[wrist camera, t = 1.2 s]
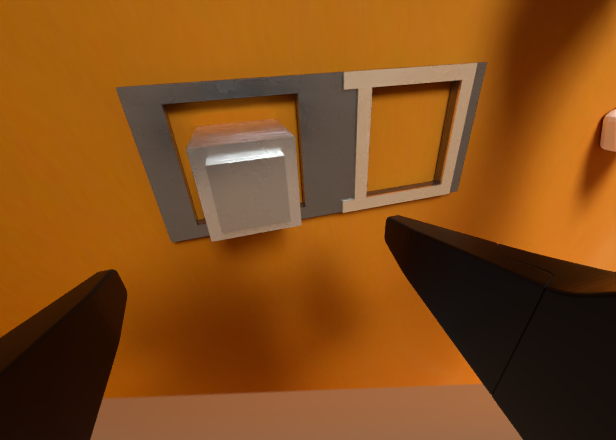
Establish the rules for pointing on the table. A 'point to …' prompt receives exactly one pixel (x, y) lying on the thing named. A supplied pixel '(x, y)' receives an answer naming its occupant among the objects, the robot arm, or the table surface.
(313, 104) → the rail
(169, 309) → the table surface
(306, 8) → the table surface
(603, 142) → the pepper shaker
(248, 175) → the grey upright rectangular block
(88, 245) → the table surface
